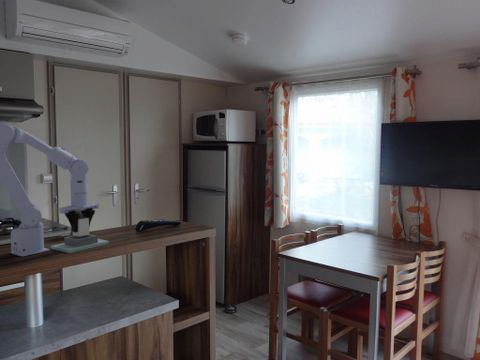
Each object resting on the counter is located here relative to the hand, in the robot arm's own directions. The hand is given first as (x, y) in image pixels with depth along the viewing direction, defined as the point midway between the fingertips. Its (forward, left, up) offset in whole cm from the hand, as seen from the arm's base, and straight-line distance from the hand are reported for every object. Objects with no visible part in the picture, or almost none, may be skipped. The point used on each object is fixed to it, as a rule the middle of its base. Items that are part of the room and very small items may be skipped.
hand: (80, 230), depth 144 cm
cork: (+10, +17, -6) cm, 21 cm away
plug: (0, 0, -1) cm, 1 cm away
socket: (0, 0, -6) cm, 6 cm away
